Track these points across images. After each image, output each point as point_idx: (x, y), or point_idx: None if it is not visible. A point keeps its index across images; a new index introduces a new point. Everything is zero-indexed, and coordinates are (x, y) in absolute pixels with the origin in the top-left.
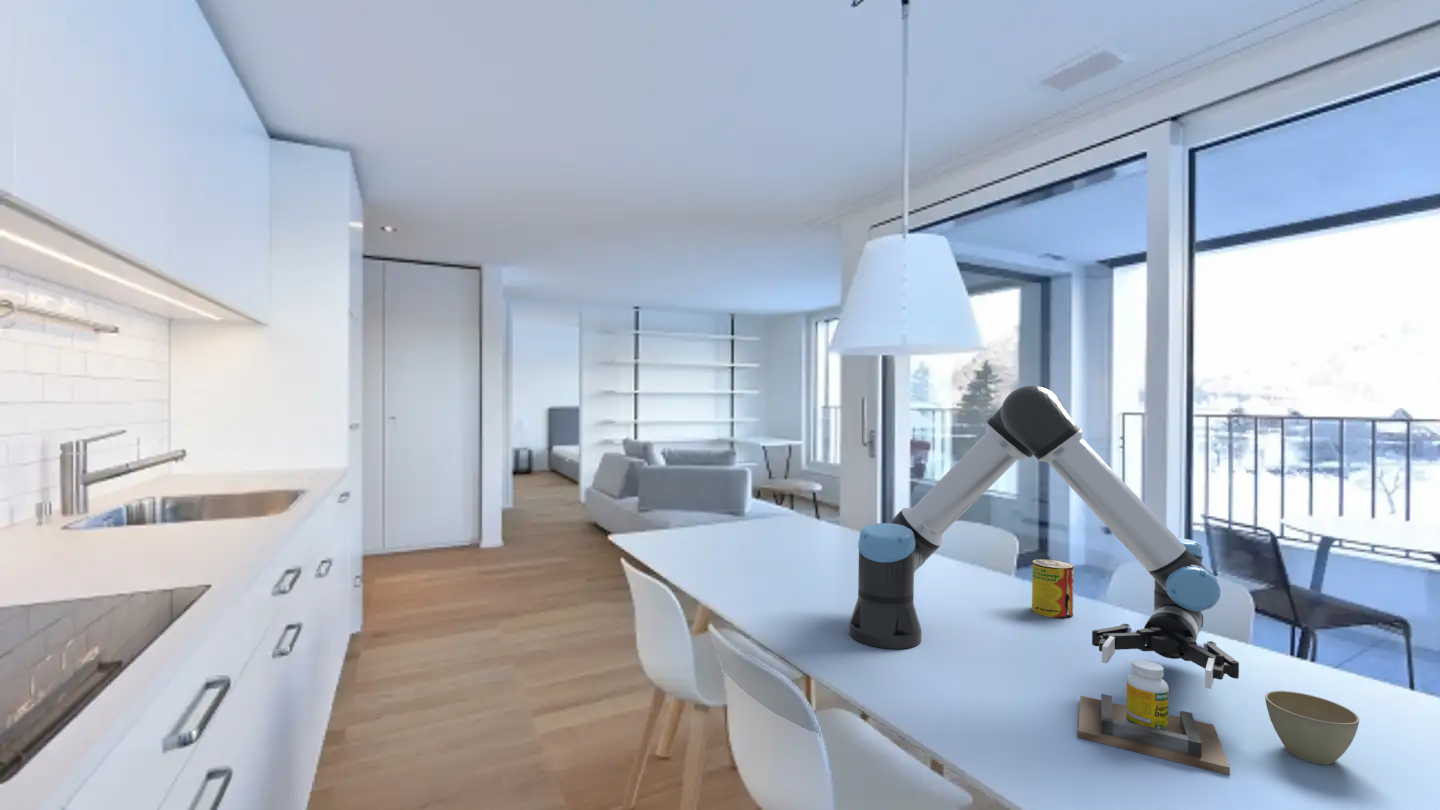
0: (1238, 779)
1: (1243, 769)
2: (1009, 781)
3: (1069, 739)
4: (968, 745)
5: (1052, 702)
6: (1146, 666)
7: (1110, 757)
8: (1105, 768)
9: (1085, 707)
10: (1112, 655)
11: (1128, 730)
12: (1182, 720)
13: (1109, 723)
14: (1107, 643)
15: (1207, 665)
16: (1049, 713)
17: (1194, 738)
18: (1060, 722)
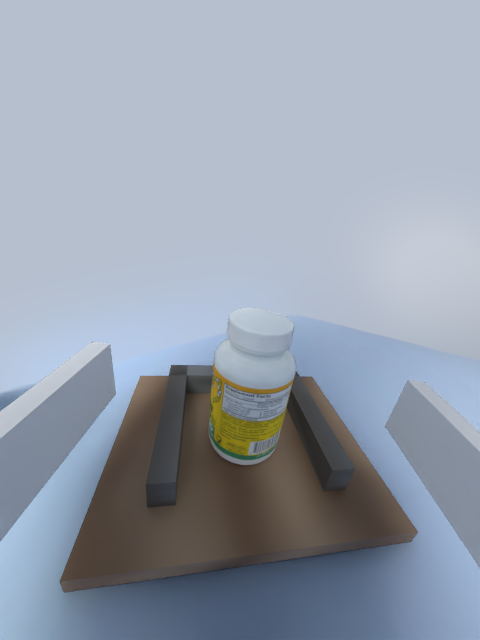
0: (133, 380)
1: (109, 406)
2: (306, 321)
3: (313, 377)
4: (356, 339)
5: None
6: (261, 314)
7: None
8: None
9: (356, 457)
10: (468, 549)
11: None
12: (181, 428)
13: None
14: (451, 415)
15: (66, 378)
16: (380, 429)
17: (177, 372)
18: (349, 409)
